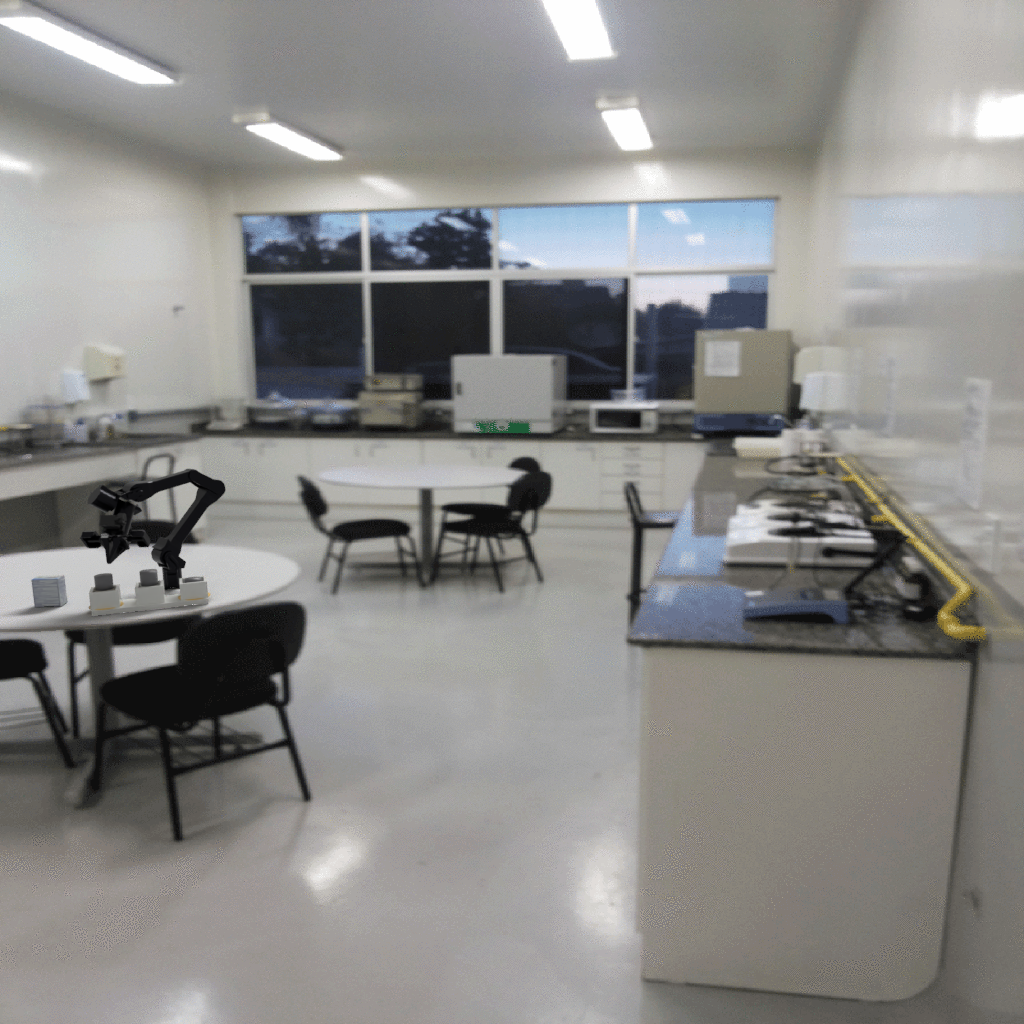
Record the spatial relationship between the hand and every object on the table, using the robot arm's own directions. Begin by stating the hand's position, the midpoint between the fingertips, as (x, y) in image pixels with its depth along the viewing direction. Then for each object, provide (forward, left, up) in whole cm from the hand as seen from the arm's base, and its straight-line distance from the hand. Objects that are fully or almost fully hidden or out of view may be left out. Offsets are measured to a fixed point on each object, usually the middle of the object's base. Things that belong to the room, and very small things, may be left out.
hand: (108, 563), depth 257 cm
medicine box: (-10, -17, -13) cm, 24 cm away
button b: (+4, +11, -6) cm, 13 cm away
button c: (+4, -1, -6) cm, 8 cm away
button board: (+4, +11, -13) cm, 17 cm away
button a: (+4, +23, -10) cm, 25 cm away
